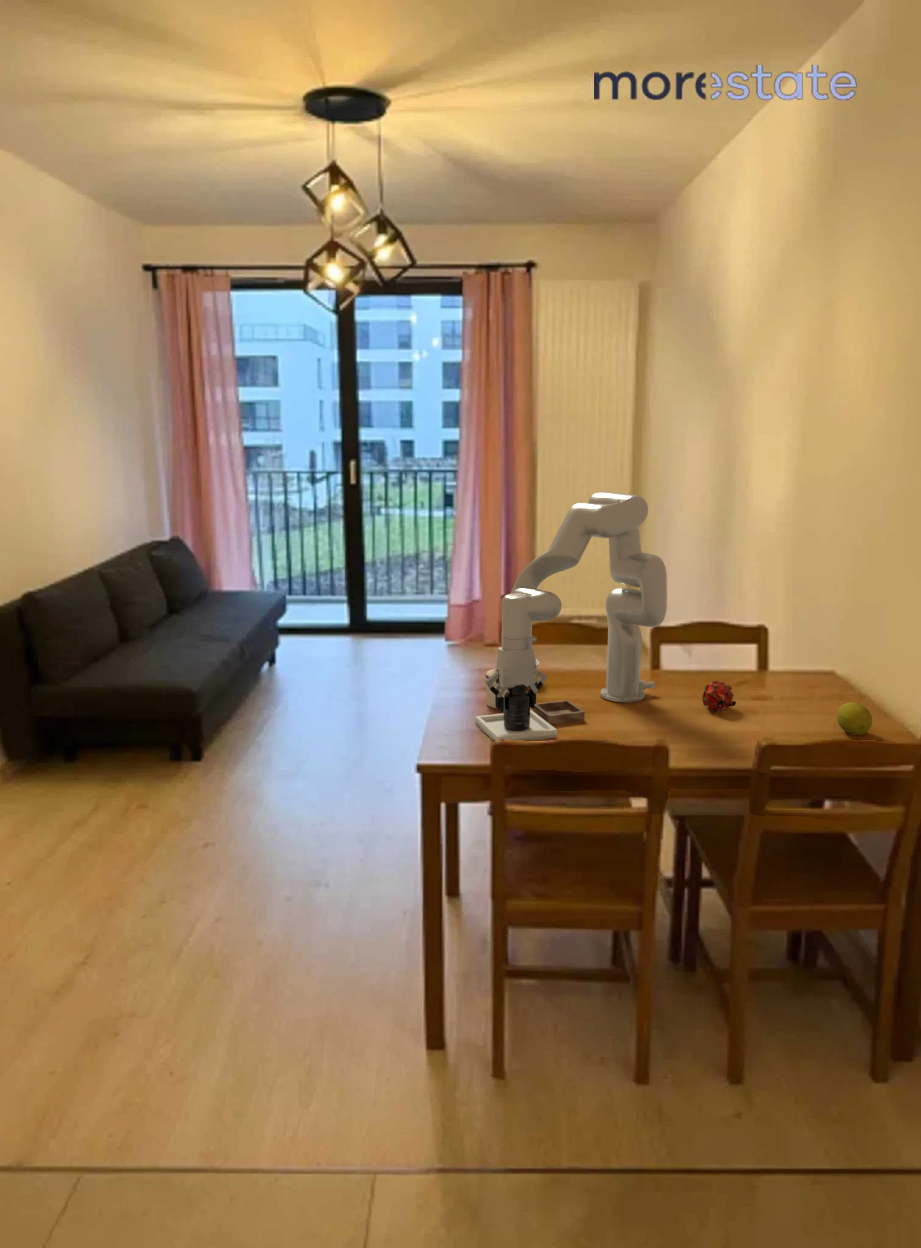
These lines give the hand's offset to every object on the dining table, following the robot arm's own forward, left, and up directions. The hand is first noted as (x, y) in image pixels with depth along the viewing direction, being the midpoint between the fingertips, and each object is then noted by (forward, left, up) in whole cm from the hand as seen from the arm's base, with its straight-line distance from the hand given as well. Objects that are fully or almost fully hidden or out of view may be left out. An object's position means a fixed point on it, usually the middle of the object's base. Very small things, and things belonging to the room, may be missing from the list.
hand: (515, 708), depth 234 cm
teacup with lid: (-5, -22, -6) cm, 23 cm away
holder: (-15, -6, -6) cm, 17 cm away
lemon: (-81, +30, -6) cm, 87 cm away
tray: (0, 0, -6) cm, 6 cm away
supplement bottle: (0, 0, -5) cm, 5 cm away
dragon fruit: (-59, +3, -6) cm, 59 cm away
